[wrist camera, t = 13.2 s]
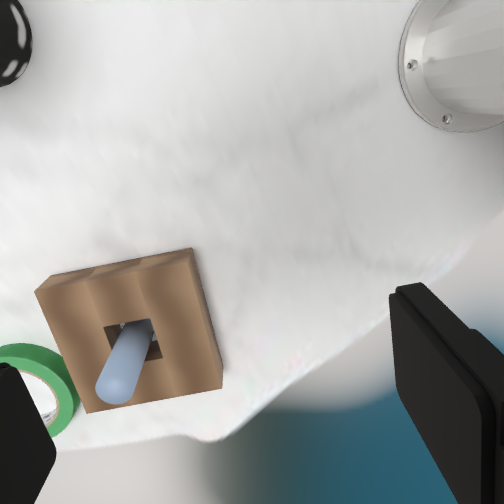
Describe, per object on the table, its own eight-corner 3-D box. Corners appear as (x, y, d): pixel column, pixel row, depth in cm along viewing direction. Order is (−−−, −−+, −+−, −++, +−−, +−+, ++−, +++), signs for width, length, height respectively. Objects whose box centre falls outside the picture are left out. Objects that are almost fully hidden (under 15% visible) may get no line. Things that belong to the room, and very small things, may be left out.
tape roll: (10, 436, 46) (-2, 455, 44) (-44, 359, 42) (-61, 375, 40) (99, 409, 45) (91, 427, 43) (52, 328, 42) (40, 343, 39)
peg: (150, 308, 41) (127, 370, 32) (159, 333, 42) (138, 400, 33) (122, 314, 41) (90, 377, 32) (131, 339, 42) (102, 407, 33)
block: (191, 247, 39) (187, 261, 35) (223, 366, 44) (222, 388, 40) (50, 275, 39) (34, 291, 36) (97, 390, 44) (86, 413, 41)
